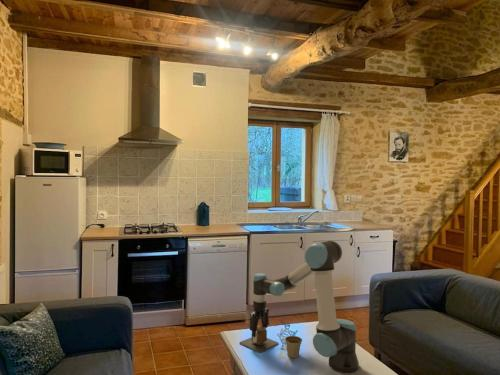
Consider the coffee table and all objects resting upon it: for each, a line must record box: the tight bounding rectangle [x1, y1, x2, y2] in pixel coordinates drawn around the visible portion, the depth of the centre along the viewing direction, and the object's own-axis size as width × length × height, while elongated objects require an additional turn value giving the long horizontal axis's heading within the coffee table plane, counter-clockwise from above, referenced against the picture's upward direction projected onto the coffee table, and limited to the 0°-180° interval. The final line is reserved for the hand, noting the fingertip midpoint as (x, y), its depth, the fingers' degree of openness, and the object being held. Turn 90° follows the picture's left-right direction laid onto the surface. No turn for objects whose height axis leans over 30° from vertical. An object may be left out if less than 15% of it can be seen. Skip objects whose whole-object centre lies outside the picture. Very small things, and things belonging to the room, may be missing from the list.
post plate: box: [239, 336, 280, 354], centre depth 213 cm, size 16×16×6 cm
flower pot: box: [284, 335, 303, 358], centre depth 200 cm, size 9×9×9 cm
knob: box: [251, 324, 268, 344], centre depth 213 cm, size 6×6×8 cm
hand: (259, 340), depth 213 cm, fingers closed on knob, 6 cm apart
